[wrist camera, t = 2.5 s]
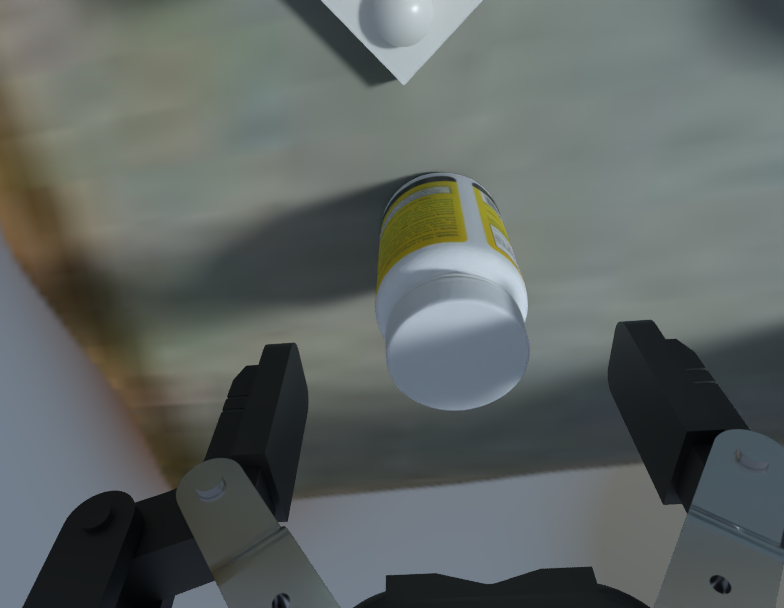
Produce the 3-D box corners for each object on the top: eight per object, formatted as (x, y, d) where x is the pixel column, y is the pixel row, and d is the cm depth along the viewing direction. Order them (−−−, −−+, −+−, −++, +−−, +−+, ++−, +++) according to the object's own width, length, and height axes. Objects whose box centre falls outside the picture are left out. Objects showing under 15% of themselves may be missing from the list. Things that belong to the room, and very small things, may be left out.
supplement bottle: (366, 256, 23) (347, 396, 16) (405, 151, 20) (404, 263, 13) (470, 289, 23) (498, 437, 16) (521, 193, 21) (578, 319, 14)
